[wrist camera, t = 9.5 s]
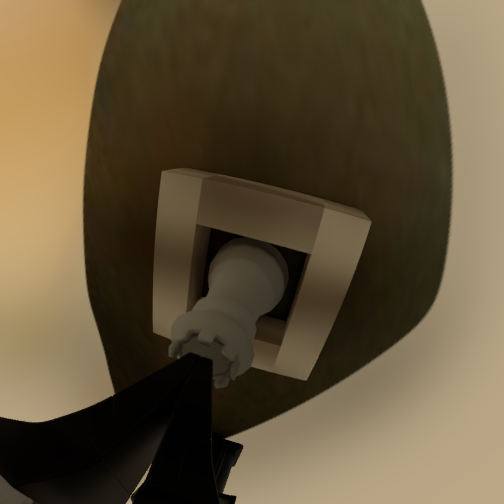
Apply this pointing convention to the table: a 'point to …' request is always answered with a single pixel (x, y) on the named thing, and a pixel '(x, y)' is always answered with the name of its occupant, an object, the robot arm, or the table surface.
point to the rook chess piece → (232, 307)
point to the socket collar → (265, 229)
